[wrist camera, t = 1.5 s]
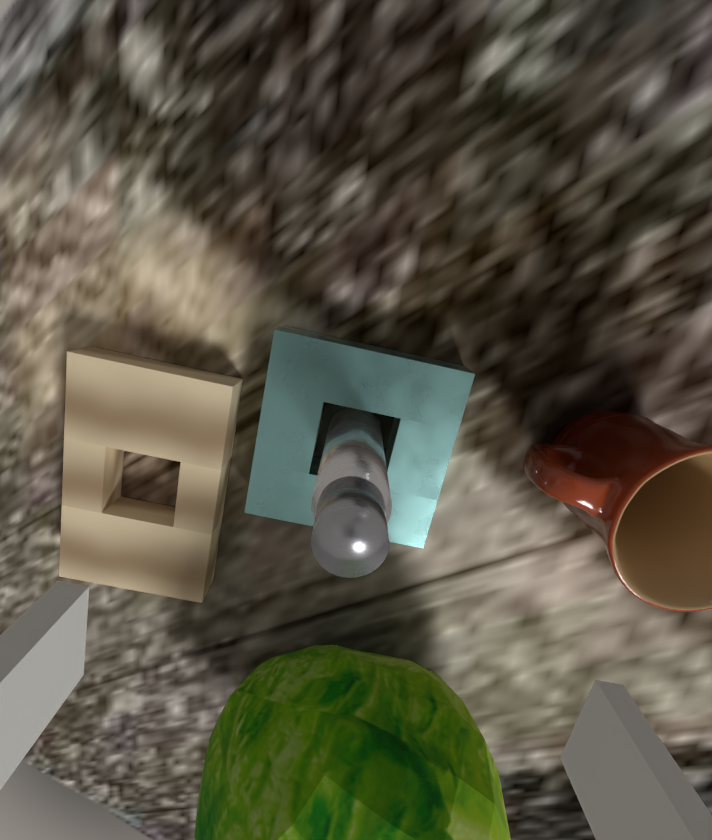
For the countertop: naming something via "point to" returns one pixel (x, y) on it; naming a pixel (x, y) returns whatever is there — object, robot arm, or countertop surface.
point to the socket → (365, 390)
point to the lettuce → (347, 755)
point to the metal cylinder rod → (351, 497)
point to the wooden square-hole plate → (155, 436)
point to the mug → (637, 501)
